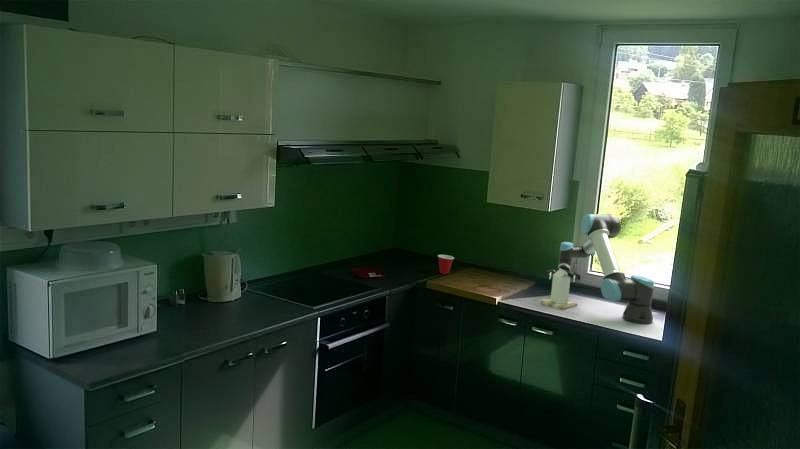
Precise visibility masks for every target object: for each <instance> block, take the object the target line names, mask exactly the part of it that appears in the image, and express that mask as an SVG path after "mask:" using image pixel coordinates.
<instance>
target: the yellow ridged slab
mask: <svg viewBox="0 0 800 449" xmlns="http://www.w3.org/2000/svg"><path fill="white" fill-rule="evenodd" d="M540 304H542V305H545V306H548V307H552V308H556V309H559V310H562V311H565V310H569V309H572V308H576V307H578V303H577V302H573V301H571V300H568V303H567V304H556V303H554V302H553V301H551V297H550V298H545V299H542V300H540Z"/></svg>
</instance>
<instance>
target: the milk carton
mask: <svg viewBox="0 0 800 449" xmlns="http://www.w3.org/2000/svg"><path fill="white" fill-rule="evenodd" d="M567 274H568V273H567V272H566V271H565V270H563V269H561V268H559V270H558V271H557V272H556V273H555V274H554V275H553V276H552V282H551V292H550V298H551V301H553V302H554V303H556V304H567V303H568V301H569V295H570V285H571V278H570V277H569V276H568V275H567Z"/></svg>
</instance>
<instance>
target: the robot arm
mask: <svg viewBox="0 0 800 449" xmlns="http://www.w3.org/2000/svg"><path fill="white" fill-rule="evenodd" d="M580 230H581V233H582V234H583V235H585V236H587V237H588V240H587V241H586V242H585V243H583V245H574V243H572V242H569V241H562V242H561V243H560V247H559V257H558V266H557V270H555V269H554V268H551V269H550V270H545V272H544V276H546V277H547V278H548V280H551V278H552V277H553V275H554V274H555V273H556V272H557V271H558V270H559V268H561V269H563V270H565V271H566V272H567V273H568V274H567V275H568V276H569V277H570V279H573V281H572V282H573V283H575V281H580V280H581V277H582V275H580V274H579V273H576V271H572V272H571V269H572V259H575V258H576V259H587V258H586V257H588V256H590V255H591V256H594V255H596V256H597V258H598V262H599V265H600V268H601V270H602V273H603V278H602V281H601V283H600V287H601V288H600V291H601V294H602V296H603V298H605V300H607V301H609V302H627V305H626V307H625V308H624V311H623V313H622V318H623V319H624V320H626V321H627V322H631V323H634V324H641V325H643V324H644V325H646V324H647V325H649V324H652V323H653V322H654V315H653V312H652V301H653V293H654V289H655V288H654V284H655V283H654V281H653V280H652V279H650V278H647V277H644V276H640V275H630V276H631V277H630V278H626V274H625V273H624V272H622V271H621V269H620V267H619V264H618V261H617V259H616V256H615V253H614V250H613V248H612V245H611V241H610V239H614V238H616V237H617V236H618V235H619V234H620V232H621V230H622V222H621V220H620V219H619V218H618V217H617V216H616V215H613V214H604V213H603V214H600V213H597V214H596V213H595V214H594V213H587V214H585V215H584V216H583V218H582V219H581V223H580ZM595 251H596V252H595ZM594 257H595V256H594Z"/></svg>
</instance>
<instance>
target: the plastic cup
mask: <svg viewBox="0 0 800 449" xmlns="http://www.w3.org/2000/svg"><path fill="white" fill-rule="evenodd" d="M437 258H438V265H439V274H440V273H442V274H447V273H449V274H450V270H451V267H452V264H453V261H454V259H455V257H454V256H452V255H448V254H438V255H437ZM442 274H441V275H442Z"/></svg>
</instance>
